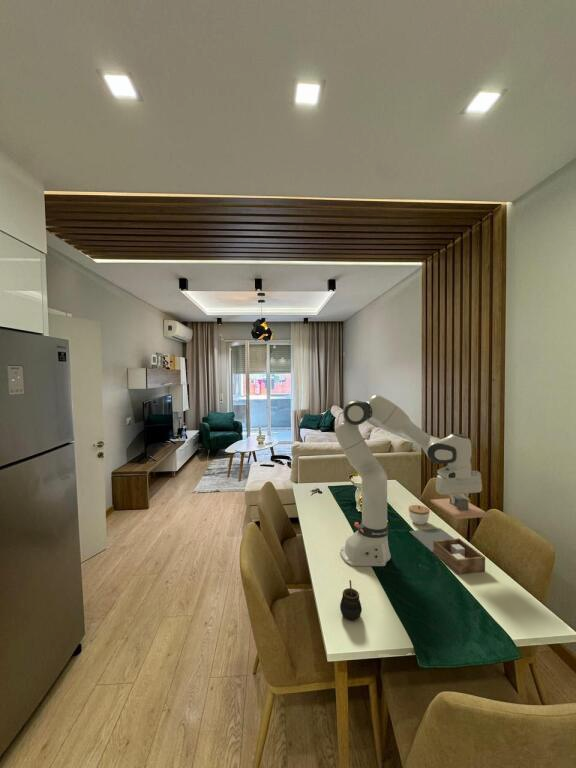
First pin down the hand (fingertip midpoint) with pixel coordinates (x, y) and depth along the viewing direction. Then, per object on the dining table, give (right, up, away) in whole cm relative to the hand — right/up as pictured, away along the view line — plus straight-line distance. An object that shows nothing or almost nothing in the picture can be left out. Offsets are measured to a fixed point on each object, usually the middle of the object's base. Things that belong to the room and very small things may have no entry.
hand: (458, 502), depth 143 cm
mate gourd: (-53, -28, -30) cm, 67 cm away
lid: (0, -3, 0) cm, 3 cm away
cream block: (-2, -26, -3) cm, 26 cm away
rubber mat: (0, -26, +20) cm, 33 cm away
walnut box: (0, -26, +1) cm, 26 cm away
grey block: (+2, -25, +5) cm, 26 cm away
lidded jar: (-2, -25, +39) cm, 47 cm away
